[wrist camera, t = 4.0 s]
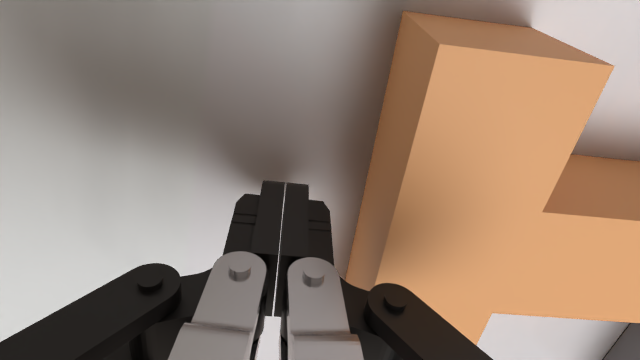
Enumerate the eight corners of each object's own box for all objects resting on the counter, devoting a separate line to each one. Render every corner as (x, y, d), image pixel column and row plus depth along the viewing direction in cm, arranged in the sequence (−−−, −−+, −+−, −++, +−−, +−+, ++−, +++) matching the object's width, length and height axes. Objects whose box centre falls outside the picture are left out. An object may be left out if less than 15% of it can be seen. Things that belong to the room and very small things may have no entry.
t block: (402, 10, 12) (439, 44, 9) (768, 58, 13) (927, 105, 10) (341, 297, 18) (348, 381, 15) (594, 314, 20) (654, 397, 16)
